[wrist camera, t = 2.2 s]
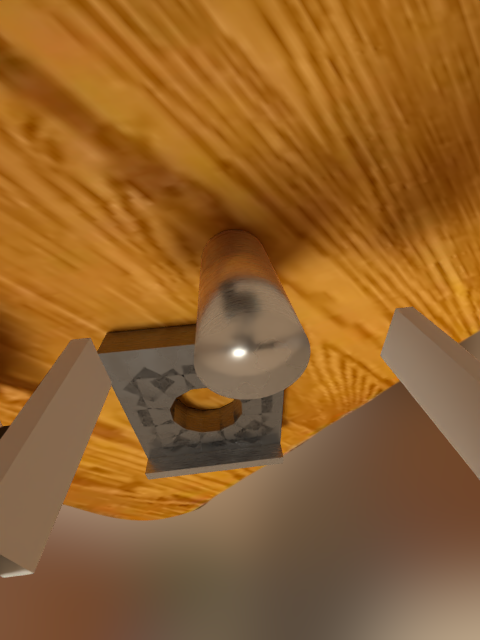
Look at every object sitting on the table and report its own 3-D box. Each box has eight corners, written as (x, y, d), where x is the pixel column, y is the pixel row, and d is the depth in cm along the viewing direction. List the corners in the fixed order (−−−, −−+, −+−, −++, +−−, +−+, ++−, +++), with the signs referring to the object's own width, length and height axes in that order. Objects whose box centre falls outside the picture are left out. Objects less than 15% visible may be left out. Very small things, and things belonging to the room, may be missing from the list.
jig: (107, 332, 21) (88, 369, 18) (280, 316, 22) (292, 348, 18) (154, 442, 30) (148, 479, 27) (275, 428, 31) (282, 463, 27)
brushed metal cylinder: (196, 232, 17) (184, 319, 9) (266, 226, 17) (316, 307, 9) (205, 293, 20) (202, 404, 12) (266, 288, 20) (304, 393, 12)
